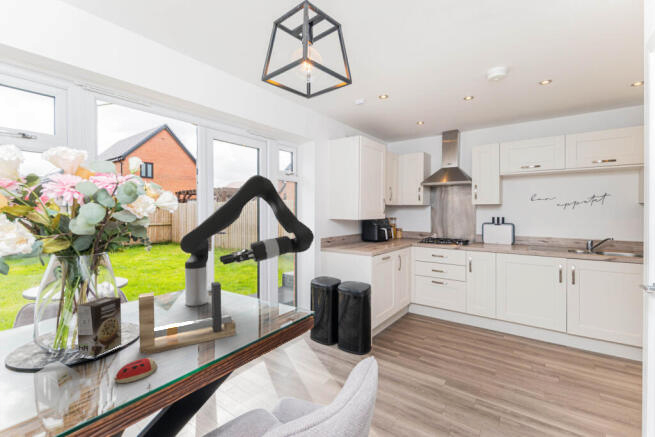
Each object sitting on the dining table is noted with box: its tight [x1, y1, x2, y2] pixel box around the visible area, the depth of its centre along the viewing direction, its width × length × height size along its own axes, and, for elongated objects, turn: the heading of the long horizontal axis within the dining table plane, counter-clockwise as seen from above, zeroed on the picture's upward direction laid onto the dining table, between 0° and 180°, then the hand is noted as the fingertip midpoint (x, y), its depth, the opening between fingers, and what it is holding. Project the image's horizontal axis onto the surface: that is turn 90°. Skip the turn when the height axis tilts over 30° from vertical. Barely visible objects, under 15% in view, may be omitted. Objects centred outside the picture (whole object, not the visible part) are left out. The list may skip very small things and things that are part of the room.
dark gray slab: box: [210, 281, 222, 332], centre depth 104 cm, size 5×2×16 cm, turn 32°
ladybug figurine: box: [113, 357, 158, 384], centre depth 78 cm, size 7×10×4 cm
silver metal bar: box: [154, 313, 233, 338], centre depth 100 cm, size 3×26×3 cm, turn 122°
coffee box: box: [77, 296, 122, 357], centre depth 90 cm, size 9×6×16 cm
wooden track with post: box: [138, 292, 237, 355], centre depth 99 cm, size 9×29×17 cm, turn 122°
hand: (221, 260), depth 106 cm, fingers open, 8 cm apart
